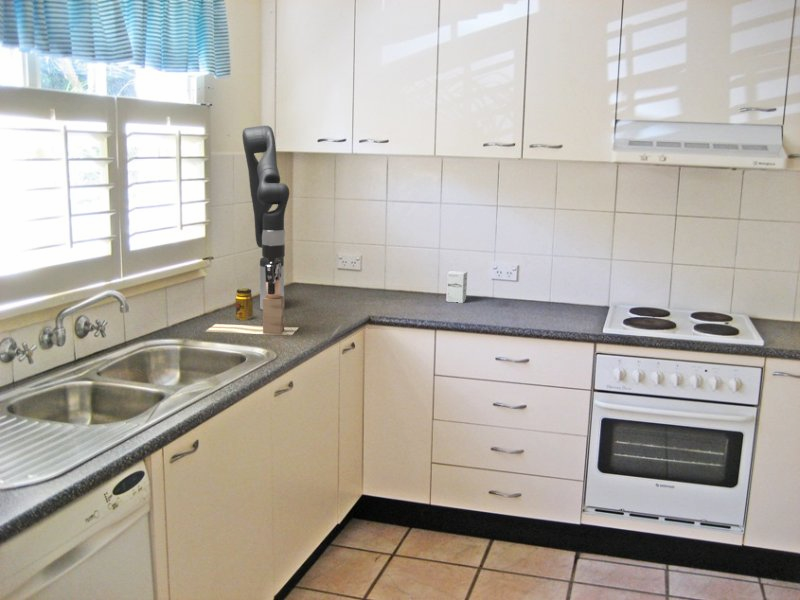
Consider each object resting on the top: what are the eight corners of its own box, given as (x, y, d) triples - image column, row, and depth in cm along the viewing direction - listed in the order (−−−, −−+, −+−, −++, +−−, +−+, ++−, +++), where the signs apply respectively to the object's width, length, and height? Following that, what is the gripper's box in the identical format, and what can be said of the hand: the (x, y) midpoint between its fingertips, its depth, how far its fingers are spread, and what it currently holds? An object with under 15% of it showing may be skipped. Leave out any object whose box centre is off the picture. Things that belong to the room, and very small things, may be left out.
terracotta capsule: (268, 296, 289) (268, 278, 288) (281, 296, 289) (281, 279, 288) (264, 298, 284) (264, 280, 283) (279, 298, 284) (278, 281, 283)
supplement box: (445, 302, 356) (446, 272, 354) (449, 299, 363) (450, 270, 361) (462, 303, 354) (463, 273, 352) (466, 300, 361) (467, 271, 359)
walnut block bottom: (267, 329, 292) (267, 312, 291) (284, 330, 291) (284, 313, 290) (263, 333, 286) (262, 316, 285) (280, 334, 285) (280, 316, 284)
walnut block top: (267, 312, 291) (267, 295, 290) (284, 313, 290) (284, 296, 289) (262, 316, 285) (262, 298, 284) (280, 316, 284) (280, 299, 283)
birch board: (215, 326, 299) (215, 324, 299) (298, 330, 296) (298, 327, 296) (204, 334, 287) (204, 331, 287) (291, 338, 285) (291, 335, 285)
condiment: (231, 322, 307) (230, 289, 305) (244, 318, 315) (244, 286, 313) (247, 324, 304) (247, 291, 302) (260, 320, 312) (260, 288, 310)
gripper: (267, 240, 290) (267, 288, 293) (257, 245, 276) (257, 295, 279) (289, 241, 290) (289, 289, 293) (279, 246, 276) (279, 296, 279)
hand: (273, 292), depth 286 cm, fingers open, 5 cm apart
